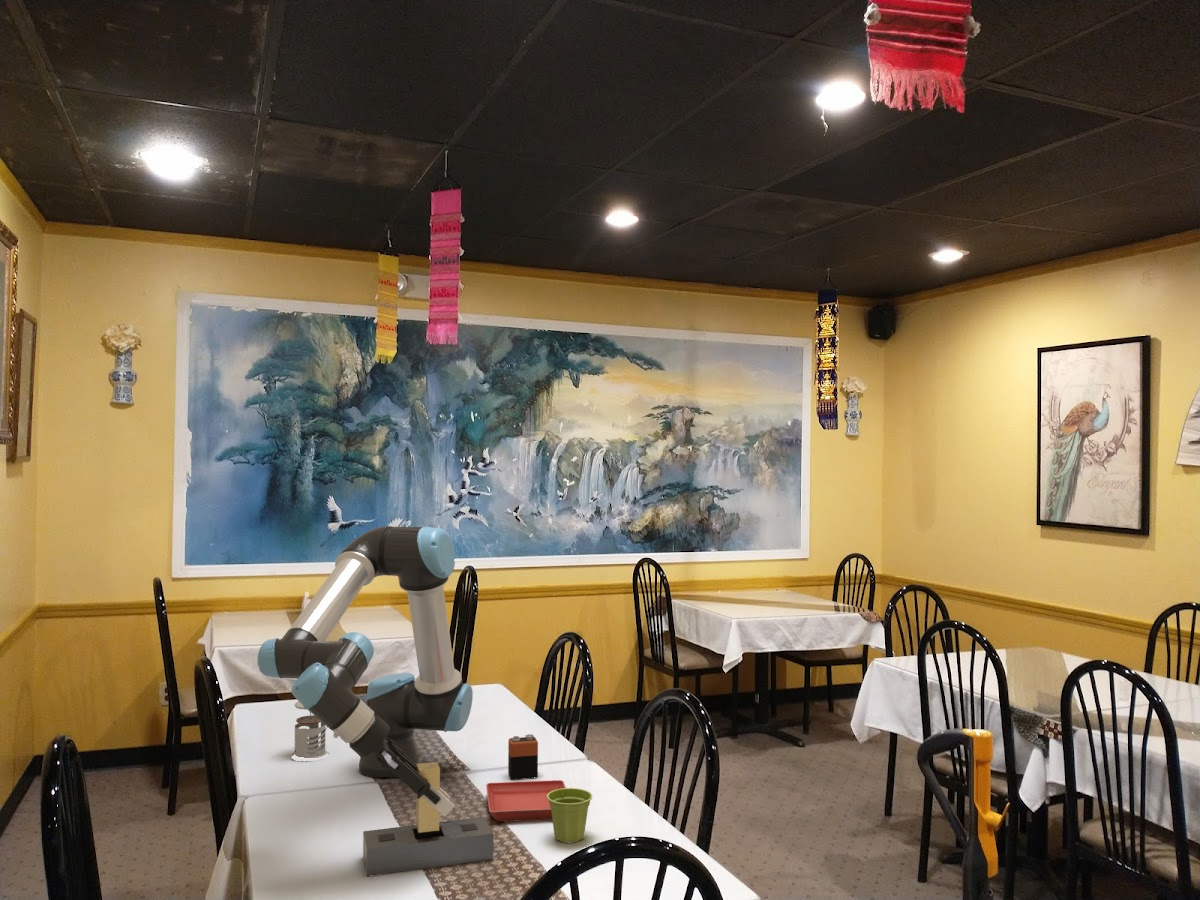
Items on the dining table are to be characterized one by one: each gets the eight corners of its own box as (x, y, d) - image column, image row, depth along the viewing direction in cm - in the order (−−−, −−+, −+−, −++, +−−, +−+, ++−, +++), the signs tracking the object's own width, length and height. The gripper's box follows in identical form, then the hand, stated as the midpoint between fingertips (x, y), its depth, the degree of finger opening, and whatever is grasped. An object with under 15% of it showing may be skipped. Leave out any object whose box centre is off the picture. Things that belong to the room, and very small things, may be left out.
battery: (538, 778, 226) (538, 737, 226) (510, 780, 224) (510, 739, 224) (534, 772, 230) (535, 732, 230) (507, 774, 228) (508, 734, 229)
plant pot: (545, 829, 194) (546, 787, 195) (590, 828, 195) (590, 786, 195) (547, 847, 185) (547, 804, 185) (593, 846, 186) (594, 803, 186)
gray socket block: (366, 876, 172) (367, 849, 172) (363, 856, 180) (363, 830, 180) (493, 859, 179) (493, 833, 179) (483, 841, 188) (484, 816, 188)
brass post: (418, 832, 177) (419, 770, 177) (415, 825, 181) (416, 763, 181) (439, 830, 178) (439, 768, 179) (436, 822, 182) (436, 761, 182)
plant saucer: (563, 792, 217) (563, 778, 217) (572, 822, 199) (572, 807, 199) (486, 796, 214) (486, 782, 214) (488, 827, 196) (489, 811, 196)
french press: (282, 759, 239) (283, 662, 240) (311, 746, 250) (312, 654, 251) (312, 763, 236) (313, 666, 236) (341, 750, 246) (342, 657, 247)
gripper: (344, 732, 183) (427, 806, 188) (350, 757, 167) (440, 838, 172) (372, 703, 185) (453, 777, 190) (380, 726, 169) (468, 806, 174)
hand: (447, 806), depth 181 cm, fingers closed on brass post, 4 cm apart
